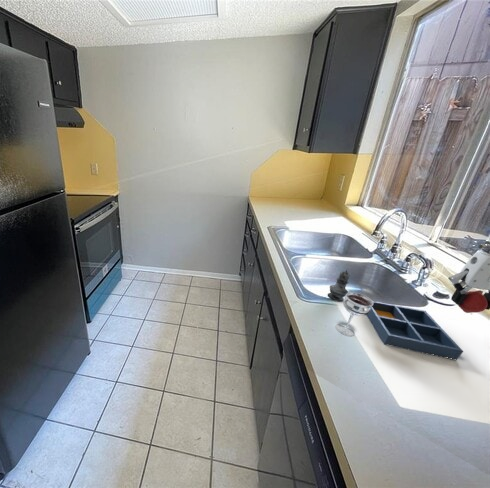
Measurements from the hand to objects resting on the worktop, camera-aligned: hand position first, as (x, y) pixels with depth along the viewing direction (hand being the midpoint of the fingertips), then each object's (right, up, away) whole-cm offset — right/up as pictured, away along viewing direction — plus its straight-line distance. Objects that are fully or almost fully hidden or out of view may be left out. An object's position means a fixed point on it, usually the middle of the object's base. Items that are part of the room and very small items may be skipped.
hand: (469, 304), depth 77 cm
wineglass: (-35, -9, +3) cm, 36 cm away
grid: (-16, -9, +4) cm, 19 cm away
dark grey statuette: (-28, -2, +18) cm, 33 cm away
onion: (0, -3, +1) cm, 3 cm away
